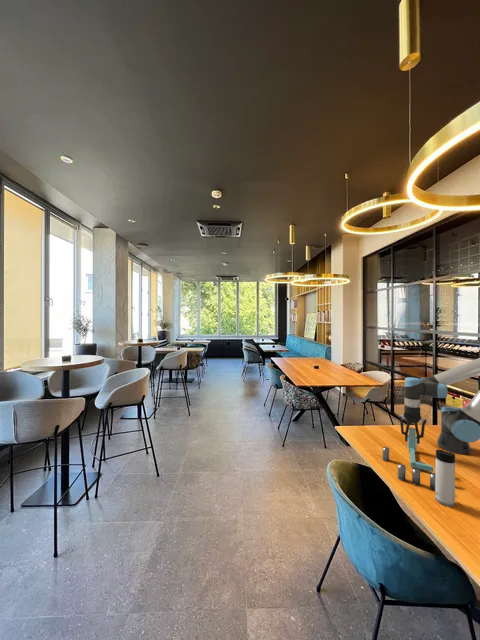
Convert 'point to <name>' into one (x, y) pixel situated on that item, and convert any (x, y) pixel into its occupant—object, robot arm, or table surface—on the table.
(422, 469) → the hexagonal star block
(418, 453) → the table surface
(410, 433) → the teal bent bar
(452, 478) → the travel mug
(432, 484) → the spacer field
